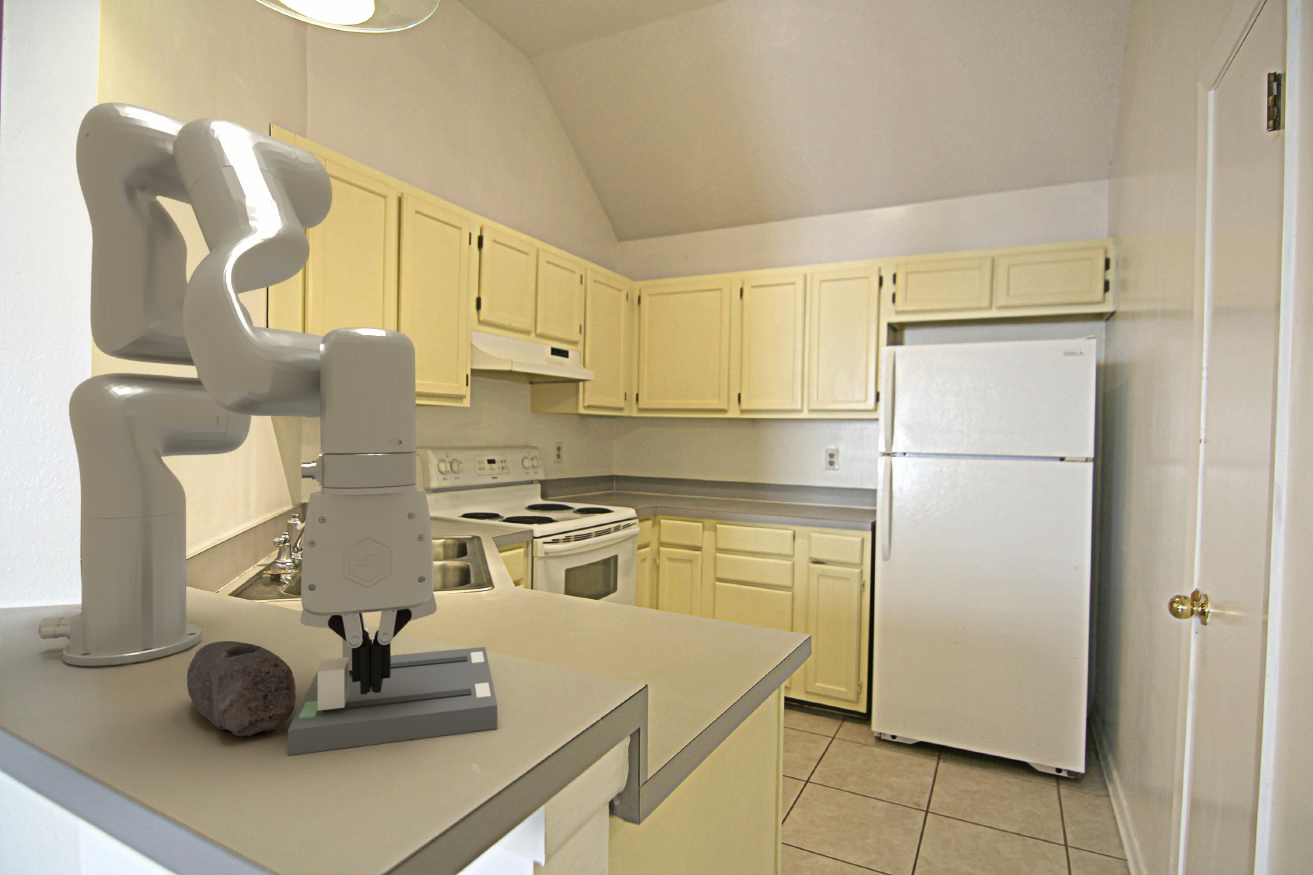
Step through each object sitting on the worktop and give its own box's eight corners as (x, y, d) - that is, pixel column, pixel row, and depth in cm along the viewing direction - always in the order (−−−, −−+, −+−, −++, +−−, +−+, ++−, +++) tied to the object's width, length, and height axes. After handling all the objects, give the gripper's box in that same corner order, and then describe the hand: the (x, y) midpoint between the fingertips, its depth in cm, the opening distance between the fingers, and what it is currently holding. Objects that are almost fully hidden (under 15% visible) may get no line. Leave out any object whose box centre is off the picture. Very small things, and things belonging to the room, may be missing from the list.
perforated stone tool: (167, 707, 61) (167, 632, 61) (232, 690, 65) (232, 619, 65) (232, 758, 52) (232, 669, 52) (302, 734, 56) (302, 652, 56)
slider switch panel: (287, 755, 52) (288, 728, 52) (322, 681, 68) (322, 660, 68) (497, 728, 57) (497, 703, 57) (485, 665, 72) (485, 645, 72)
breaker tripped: (317, 710, 55) (317, 671, 55) (323, 696, 58) (323, 659, 58) (344, 707, 55) (344, 669, 55) (348, 693, 58) (349, 657, 58)
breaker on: (342, 671, 64) (342, 637, 63) (346, 660, 66) (346, 628, 66) (365, 669, 64) (365, 636, 64) (368, 658, 67) (368, 627, 67)
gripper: (260, 479, 51) (262, 718, 51) (462, 474, 56) (464, 692, 56) (280, 474, 58) (282, 683, 58) (458, 470, 63) (460, 663, 63)
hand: (371, 687), depth 57 cm, fingers closed
